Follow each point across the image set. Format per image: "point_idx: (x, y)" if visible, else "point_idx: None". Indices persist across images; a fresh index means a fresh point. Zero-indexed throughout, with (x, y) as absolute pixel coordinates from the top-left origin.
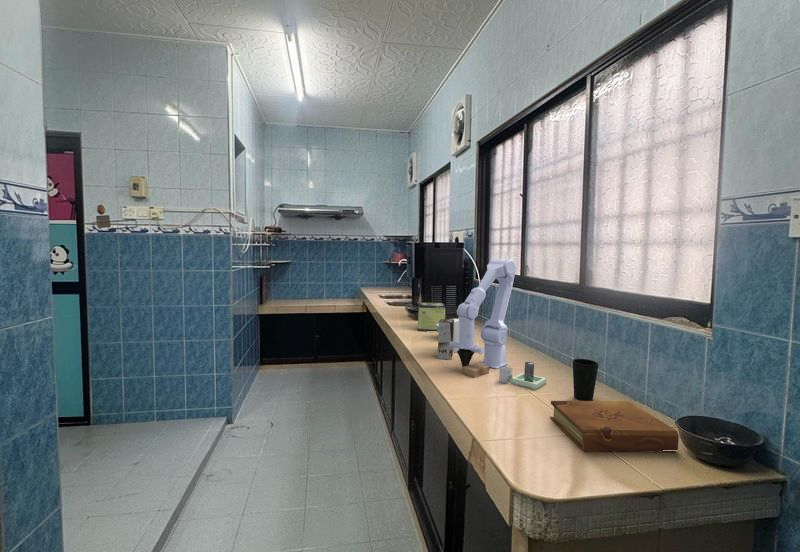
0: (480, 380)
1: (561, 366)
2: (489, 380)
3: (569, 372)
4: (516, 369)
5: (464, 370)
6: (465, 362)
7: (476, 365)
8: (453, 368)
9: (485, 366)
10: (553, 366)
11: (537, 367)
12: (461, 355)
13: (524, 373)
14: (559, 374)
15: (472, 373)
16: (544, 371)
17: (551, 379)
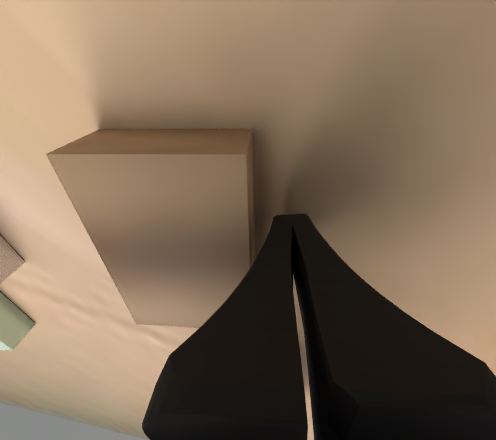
0: (21, 118)
1: (122, 428)
2: (13, 179)
3: (67, 411)
4: (151, 374)
5: (211, 143)
6: (261, 253)
7: (205, 294)
8: (411, 196)
9: (149, 313)
10: (130, 423)
11: (140, 407)
12: (336, 321)
13: None
14: (54, 395)
15: (102, 141)
16: (95, 395)
17: (4, 360)
